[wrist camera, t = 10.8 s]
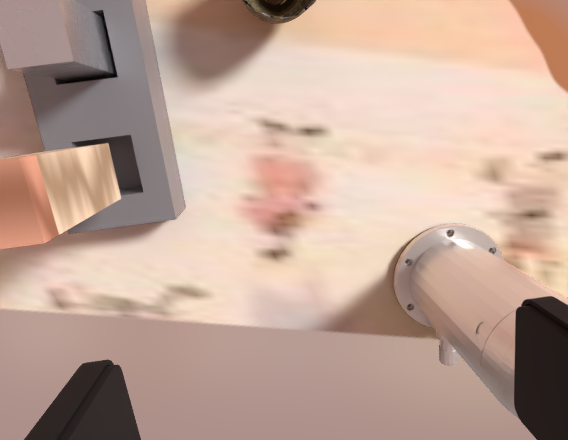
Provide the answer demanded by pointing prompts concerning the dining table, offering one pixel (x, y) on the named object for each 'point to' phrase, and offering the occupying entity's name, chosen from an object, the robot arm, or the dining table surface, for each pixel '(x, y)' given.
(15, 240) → the birch plug
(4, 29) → the metal plug
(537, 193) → the dining table surface
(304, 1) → the cup
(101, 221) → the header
